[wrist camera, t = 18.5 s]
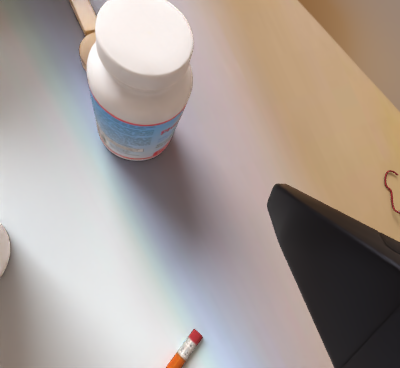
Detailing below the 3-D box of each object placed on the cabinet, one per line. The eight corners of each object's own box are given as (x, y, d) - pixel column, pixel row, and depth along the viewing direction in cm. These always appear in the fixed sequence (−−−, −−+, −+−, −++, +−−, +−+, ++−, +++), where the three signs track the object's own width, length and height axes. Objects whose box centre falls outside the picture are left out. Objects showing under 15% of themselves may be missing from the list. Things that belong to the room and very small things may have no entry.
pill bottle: (168, 166, 23) (207, 103, 13) (93, 158, 22) (66, 77, 11) (173, 102, 25) (211, -3, 14) (102, 90, 23) (86, -39, 13)
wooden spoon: (31, -47, 24) (27, -61, 23) (77, -51, 25) (75, -65, 24) (91, 87, 23) (90, 79, 22) (136, 75, 24) (137, 67, 23)
